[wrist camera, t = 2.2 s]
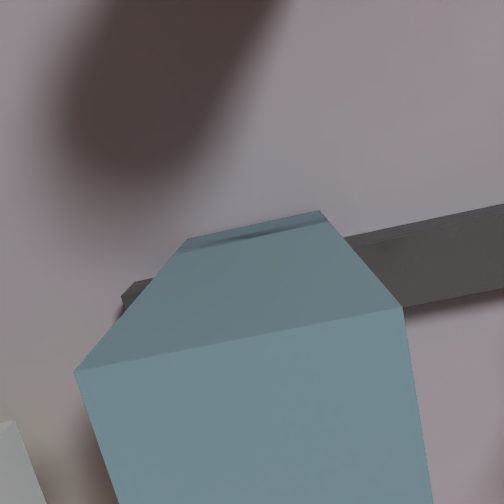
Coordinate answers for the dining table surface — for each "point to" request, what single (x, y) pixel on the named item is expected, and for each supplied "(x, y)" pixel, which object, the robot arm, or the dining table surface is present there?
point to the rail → (426, 257)
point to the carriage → (259, 377)
